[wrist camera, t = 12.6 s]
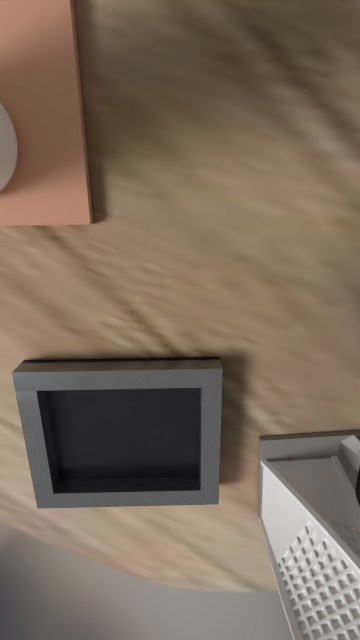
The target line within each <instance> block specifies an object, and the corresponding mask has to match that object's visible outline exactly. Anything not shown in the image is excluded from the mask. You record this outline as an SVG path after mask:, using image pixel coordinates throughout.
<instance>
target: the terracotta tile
mask: <svg viewBox="0 0 360 640" xmlns="http://www.w3.org/2000/svg"><path fill="white" fill-rule="evenodd" d="M0 103H1V104H2V105H3V107H4V108H5V110H6V111H7V113H8V115H9V117H10V119H11V121H12V124H13V126H14V129H15V133H16V137H17V144H18V157H17V163H16V168H15V170H14V173H13V175H12V177H11V179H10V181H9V182H8V183H7V185H6V186H5V187H4V188H3V189H2V190H1V191H0V226H19V225H91V224H93V213H92V202H91V191H90V180H89V169H88V158H87V146H86V135H85V124H84V113H83V102H82V91H81V79H80V68H79V57H78V46H77V35H76V24H75V12H74V1H73V0H0Z"/></svg>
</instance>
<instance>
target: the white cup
mask: <svg viewBox="0 0 360 640" xmlns="http://www.w3.org/2000/svg"><path fill="white" fill-rule="evenodd" d="M17 157H18V144H17V137H16V133H15V129H14V126H13V124H12V121H11V119H10V117H9V115H8V113H7V111H6V110H5V108H4V107H3V105H2V104H1V103H0V191H1V190H2V189H3V188H4V187H5V186H6V185H7V183H8V182H9V181H10V179H11V177H12V175H13V173H14V170H15V168H16V163H17Z"/></svg>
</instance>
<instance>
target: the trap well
mask: <svg viewBox="0 0 360 640" xmlns="http://www.w3.org/2000/svg"><path fill="white" fill-rule="evenodd" d="M12 375H13V381H14V386H15V391H16V397H17V402H18V407H19V413H20V418H21V423H22V428H23V434H24V439H25V444H26V450H27V455H28V460H29V466H30V471H31V476H32V482H33V487H34V492H35V497H36V503H37V508H75V507H119V506H162V505H206V504H219V473H220V441H221V409H222V376H223V368H222V365H221V361H220V358H219V357H189V358H133V359H77V360H24V361H23V362H22V363H21V364H20V365H19V366H18V367H17V368H16V369H15V370H14V371H13V372H12Z"/></svg>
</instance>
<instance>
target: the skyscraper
mask: <svg viewBox="0 0 360 640" xmlns="http://www.w3.org/2000/svg"><path fill="white" fill-rule="evenodd" d="M359 466H360V430H354V431H338V432H323V433H308V434H292V435H277V436H261V437H259V498H258V516H259V520H260V524H261V528H262V532H263V536H264V540H265V543H266V547H267V551H268V555H269V558H270V562H271V566H272V570H273V573H274V577H275V580H276V584H277V587H278V591H279V594H280V597H281V601H282V604H283V608H284V610H285V614H286V617H287V620H288V623H289V626H290V630H291V633H292V636H293V638H294V640H360V506H359V504H358V501H357V498H356V494H355V487H356V482H357V477H358V471H359Z"/></svg>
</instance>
